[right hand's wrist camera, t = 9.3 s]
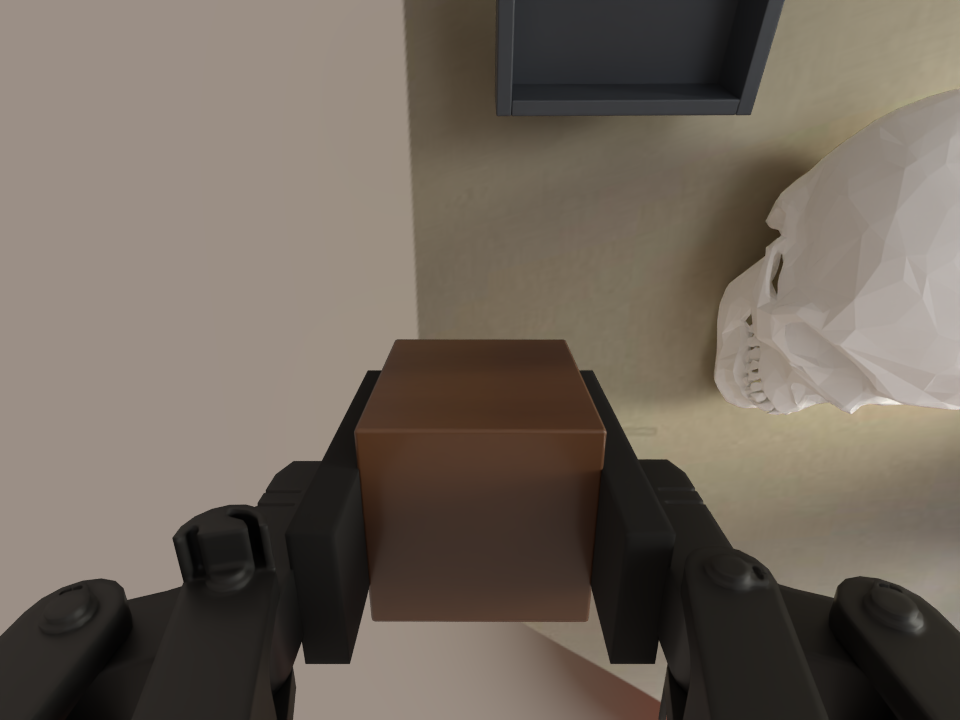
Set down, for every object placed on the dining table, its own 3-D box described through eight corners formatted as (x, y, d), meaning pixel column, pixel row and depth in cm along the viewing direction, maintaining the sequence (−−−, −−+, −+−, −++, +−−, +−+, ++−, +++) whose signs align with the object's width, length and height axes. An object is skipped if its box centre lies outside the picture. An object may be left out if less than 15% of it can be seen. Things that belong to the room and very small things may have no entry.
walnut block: (394, 338, 14) (352, 430, 9) (565, 338, 14) (607, 430, 9) (403, 484, 16) (370, 623, 11) (556, 483, 16) (589, 623, 11)
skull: (652, 369, 41) (758, 496, 26) (819, 65, 33) (1098, 1, 19) (799, 424, 43) (973, 569, 28) (986, 149, 36) (1356, 151, 21)
